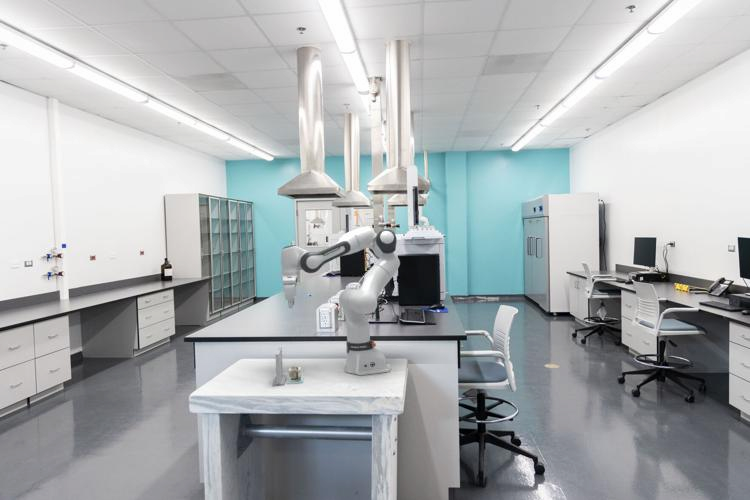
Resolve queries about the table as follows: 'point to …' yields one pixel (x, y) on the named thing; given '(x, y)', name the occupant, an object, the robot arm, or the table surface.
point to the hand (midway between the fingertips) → (291, 306)
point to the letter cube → (294, 374)
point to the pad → (295, 381)
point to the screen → (279, 369)
